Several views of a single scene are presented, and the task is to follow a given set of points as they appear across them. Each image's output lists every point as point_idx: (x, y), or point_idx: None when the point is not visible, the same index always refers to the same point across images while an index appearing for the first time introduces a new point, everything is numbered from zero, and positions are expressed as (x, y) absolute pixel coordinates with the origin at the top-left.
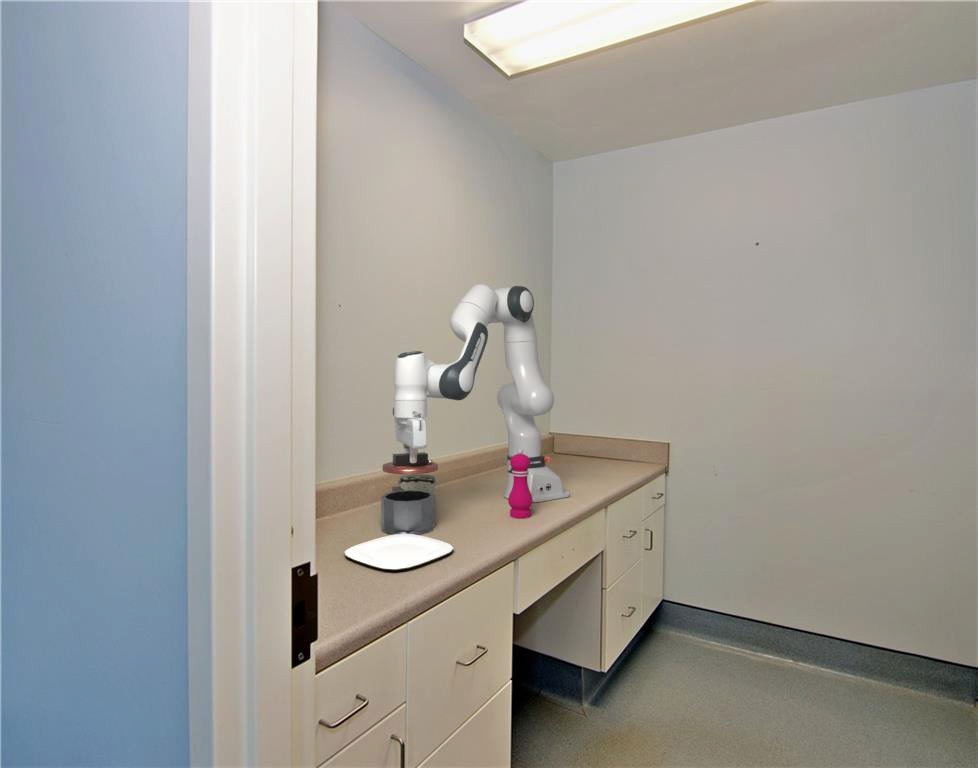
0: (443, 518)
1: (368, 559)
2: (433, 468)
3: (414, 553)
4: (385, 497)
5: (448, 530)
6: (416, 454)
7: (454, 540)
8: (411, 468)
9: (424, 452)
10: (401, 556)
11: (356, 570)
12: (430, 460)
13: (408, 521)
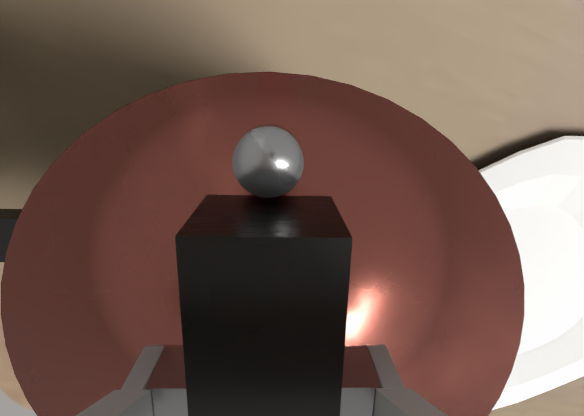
0: (172, 19)
1: (552, 376)
2: (481, 182)
3: (546, 252)
4: None
5: (356, 64)
6: (431, 413)
7: (483, 87)
8: (452, 375)
9: (192, 245)
10: (546, 289)
11: (559, 393)
12: (296, 164)
13: None
